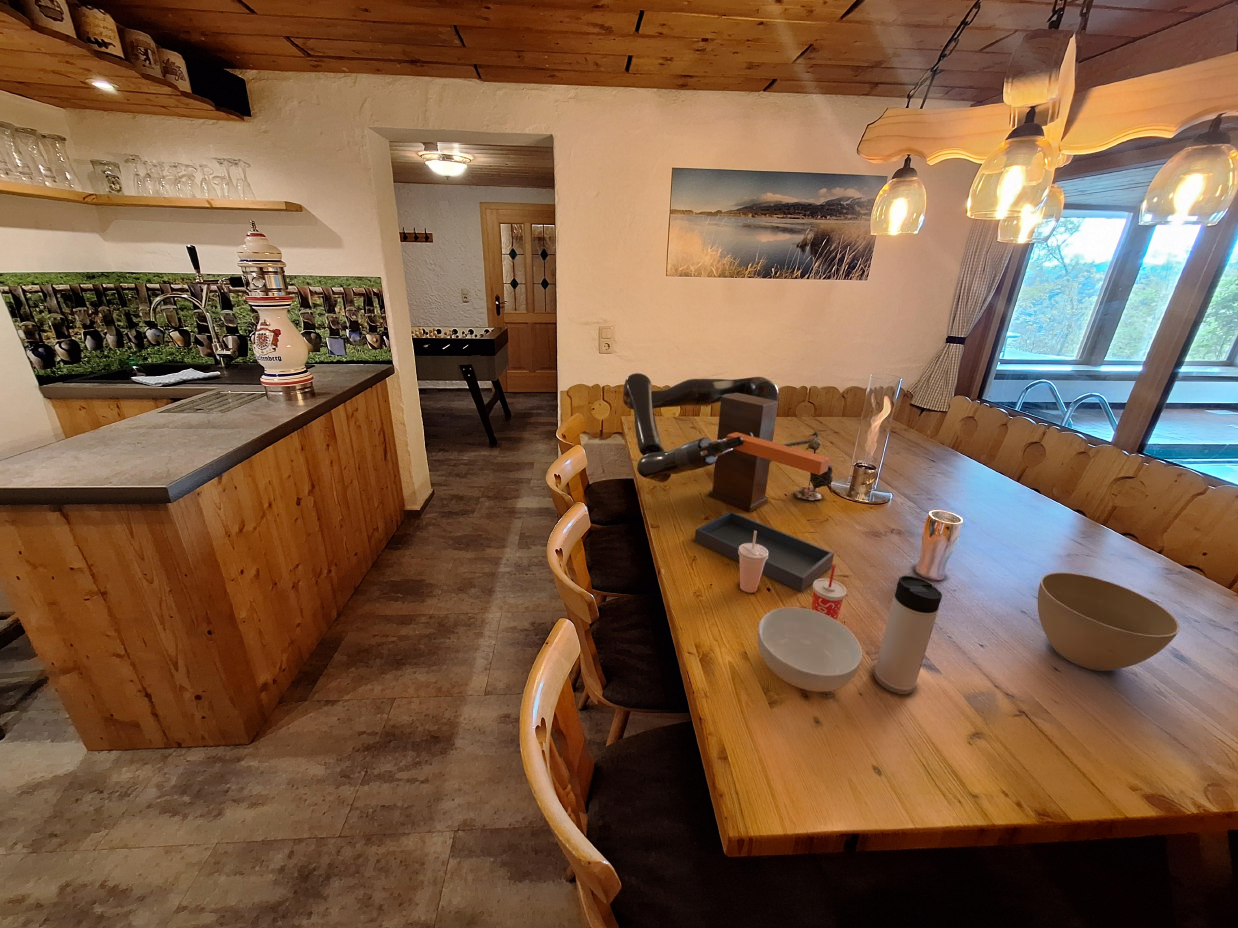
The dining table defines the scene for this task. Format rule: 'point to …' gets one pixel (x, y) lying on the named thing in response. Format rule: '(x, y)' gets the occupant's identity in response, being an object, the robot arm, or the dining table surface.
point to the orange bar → (782, 454)
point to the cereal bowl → (808, 648)
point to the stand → (738, 471)
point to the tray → (786, 553)
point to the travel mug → (907, 634)
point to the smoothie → (751, 564)
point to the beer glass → (938, 543)
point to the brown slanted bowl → (1101, 622)
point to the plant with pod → (815, 478)
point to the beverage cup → (828, 596)
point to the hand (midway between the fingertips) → (746, 438)
